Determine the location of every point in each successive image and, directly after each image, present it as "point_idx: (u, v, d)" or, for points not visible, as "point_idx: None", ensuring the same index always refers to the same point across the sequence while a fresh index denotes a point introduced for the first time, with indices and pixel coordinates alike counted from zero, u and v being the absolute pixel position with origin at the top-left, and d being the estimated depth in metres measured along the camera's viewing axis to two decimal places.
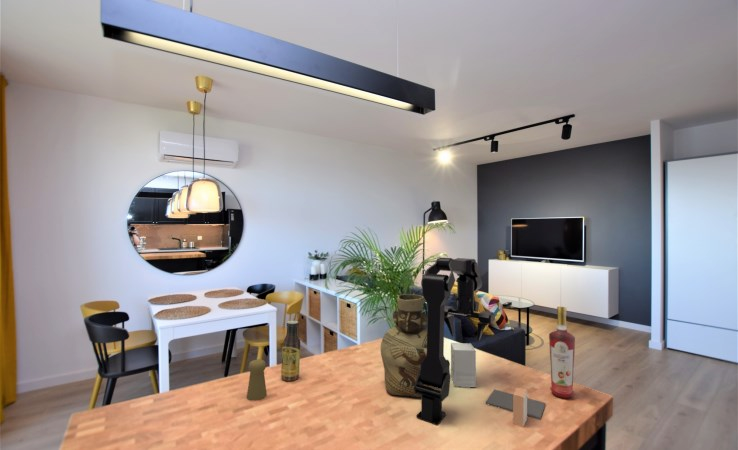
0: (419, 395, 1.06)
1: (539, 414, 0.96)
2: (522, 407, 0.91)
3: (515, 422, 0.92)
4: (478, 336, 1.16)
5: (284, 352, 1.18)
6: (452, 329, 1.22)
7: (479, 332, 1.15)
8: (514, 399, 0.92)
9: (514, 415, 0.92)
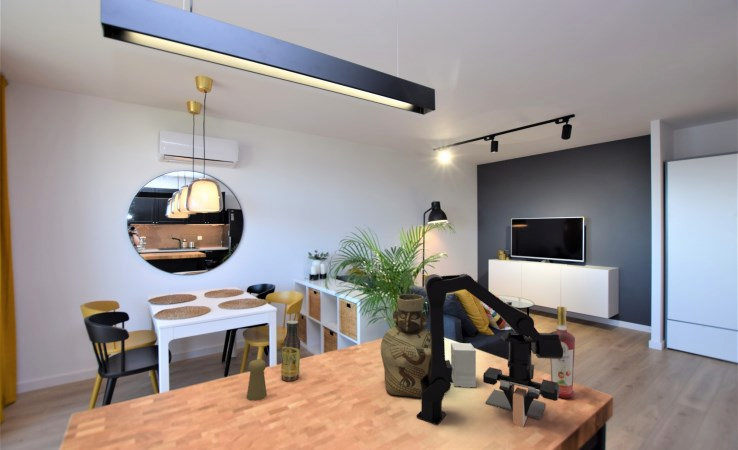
0: (419, 395, 1.06)
1: (539, 414, 0.96)
2: (522, 407, 0.91)
3: (515, 422, 0.92)
4: (526, 410, 0.92)
5: (284, 352, 1.18)
6: None
7: (527, 406, 0.91)
8: (514, 399, 0.92)
9: (514, 415, 0.92)
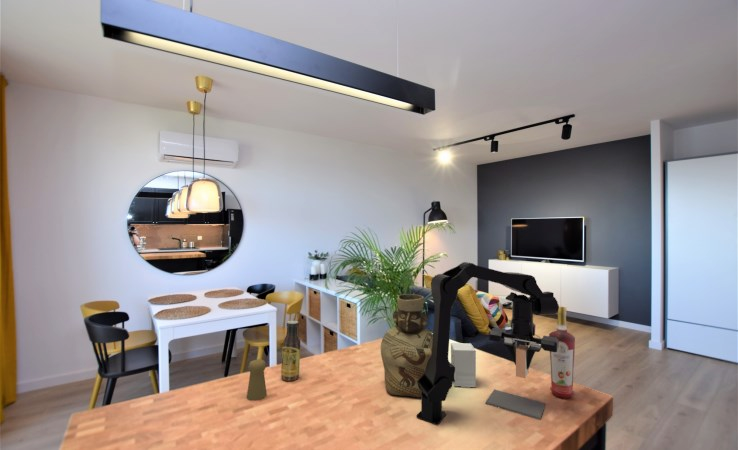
0: (419, 395, 1.06)
1: (539, 414, 0.96)
2: (524, 360, 0.99)
3: (518, 374, 1.00)
4: (528, 363, 1.00)
5: (284, 352, 1.18)
6: None
7: (529, 359, 0.99)
8: (517, 353, 1.01)
9: (517, 368, 1.00)
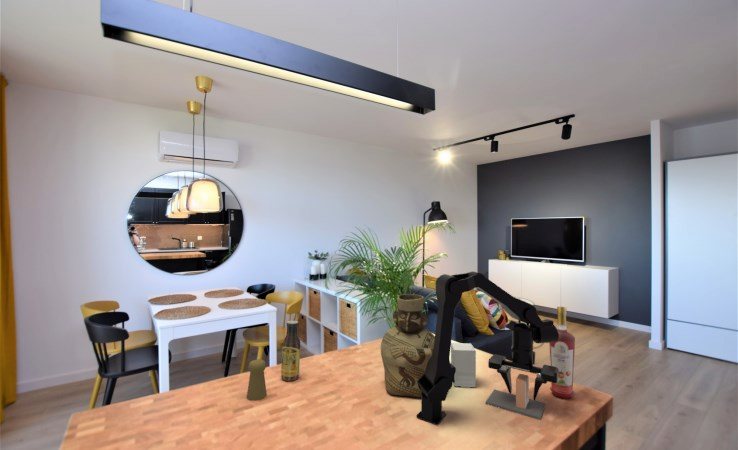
0: (419, 395, 1.06)
1: (539, 414, 0.96)
2: (524, 391, 0.99)
3: (518, 405, 1.00)
4: (535, 394, 0.99)
5: (284, 352, 1.18)
6: (510, 385, 1.03)
7: (536, 390, 0.98)
8: (517, 383, 1.00)
9: (517, 398, 1.00)
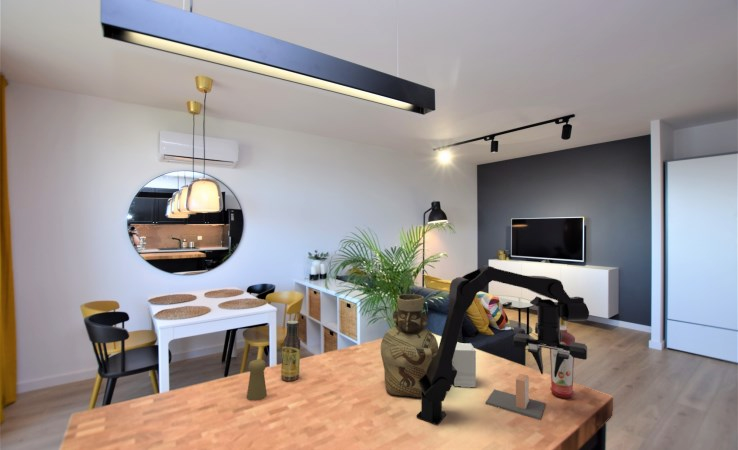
0: (419, 395, 1.06)
1: (539, 414, 0.96)
2: (524, 391, 0.99)
3: (518, 405, 1.00)
4: (556, 371, 0.96)
5: (284, 352, 1.18)
6: (542, 365, 0.99)
7: (558, 366, 0.95)
8: (517, 383, 1.00)
9: (517, 398, 1.00)
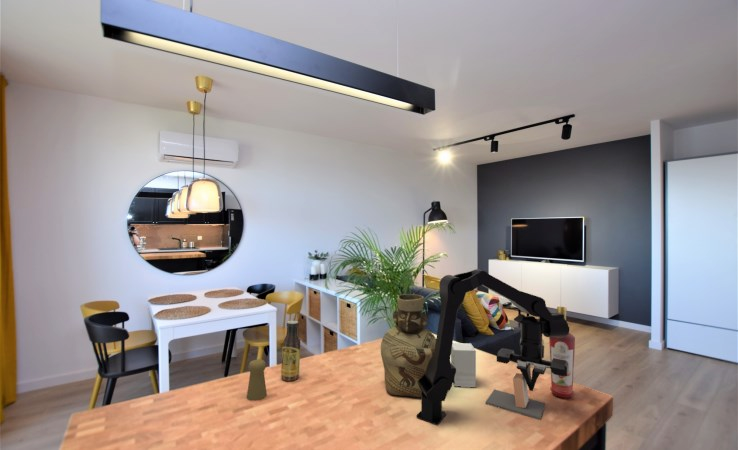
0: (419, 395, 1.06)
1: (539, 414, 0.96)
2: (522, 389, 1.00)
3: (517, 404, 1.00)
4: (532, 385, 0.99)
5: (284, 352, 1.18)
6: (530, 382, 1.00)
7: (534, 381, 0.98)
8: (514, 383, 1.01)
9: (516, 398, 1.01)
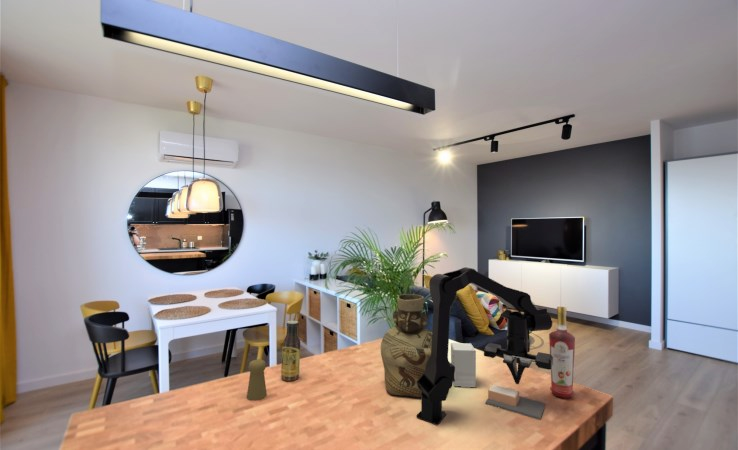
0: (419, 395, 1.06)
1: (539, 414, 0.96)
2: (497, 393, 1.04)
3: (513, 403, 1.01)
4: (518, 379, 1.02)
5: (284, 352, 1.18)
6: (516, 375, 1.03)
7: (519, 374, 1.01)
8: (492, 398, 1.04)
9: (507, 402, 1.02)
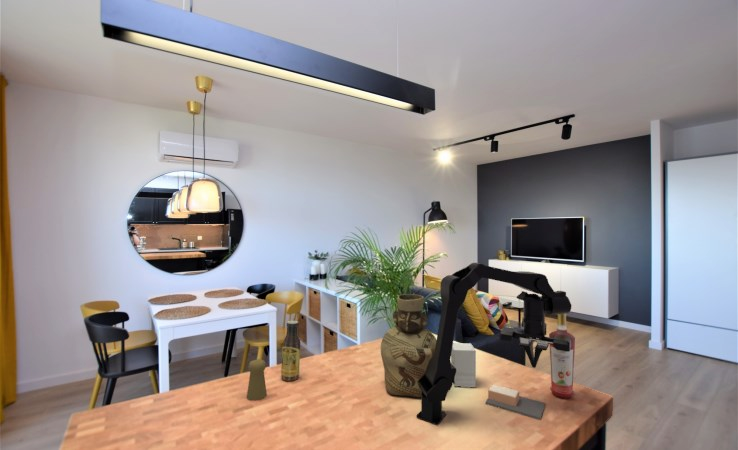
0: (419, 395, 1.06)
1: (539, 414, 0.96)
2: (497, 393, 1.04)
3: (513, 403, 1.01)
4: (535, 362, 1.00)
5: (284, 352, 1.18)
6: (533, 359, 1.01)
7: (536, 357, 0.99)
8: (492, 398, 1.04)
9: (507, 402, 1.02)
